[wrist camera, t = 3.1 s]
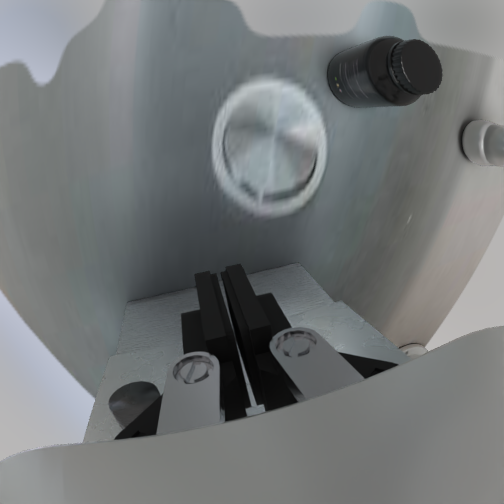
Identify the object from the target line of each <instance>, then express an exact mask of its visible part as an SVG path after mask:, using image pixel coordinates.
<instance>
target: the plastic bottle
mask: <svg viewBox="0 0 504 504" xmlns="http://www.w3.org/2000/svg"><path fill="white" fill-rule="evenodd" d="M462 144H463V149H464V152H465V154H466V156H467V157H468V158H469V160H470V161H472V162H474V163H476V164H478V165H480V166H500V167H504V126H502V125H498V124H495V123H493V122H490V121H486V120H474V121H471V122H470V123H469V124H468V125H467V126H466V127H465V129H464V132H463V137H462Z"/></svg>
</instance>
